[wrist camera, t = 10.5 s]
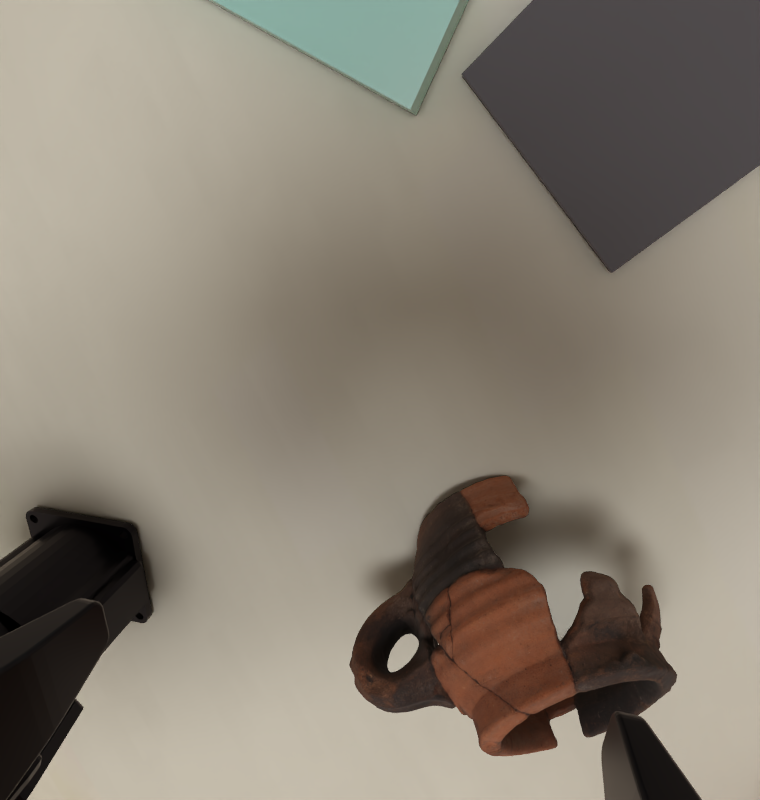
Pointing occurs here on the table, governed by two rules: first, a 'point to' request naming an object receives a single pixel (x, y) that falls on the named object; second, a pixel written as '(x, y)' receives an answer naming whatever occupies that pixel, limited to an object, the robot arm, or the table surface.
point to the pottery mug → (507, 636)
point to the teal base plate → (364, 38)
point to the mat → (628, 108)
